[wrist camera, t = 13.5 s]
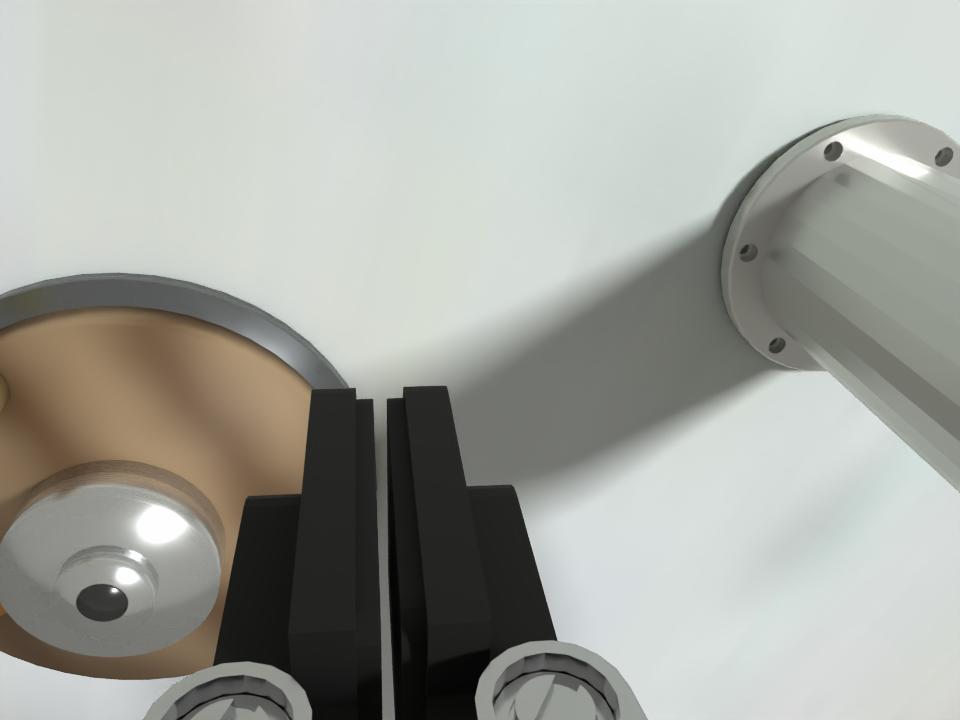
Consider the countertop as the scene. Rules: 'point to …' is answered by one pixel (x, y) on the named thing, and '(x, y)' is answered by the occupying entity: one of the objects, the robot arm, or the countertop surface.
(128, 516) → the cover
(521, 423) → the countertop surface
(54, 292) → the turntable base
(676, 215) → the countertop surface
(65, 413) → the turntable
